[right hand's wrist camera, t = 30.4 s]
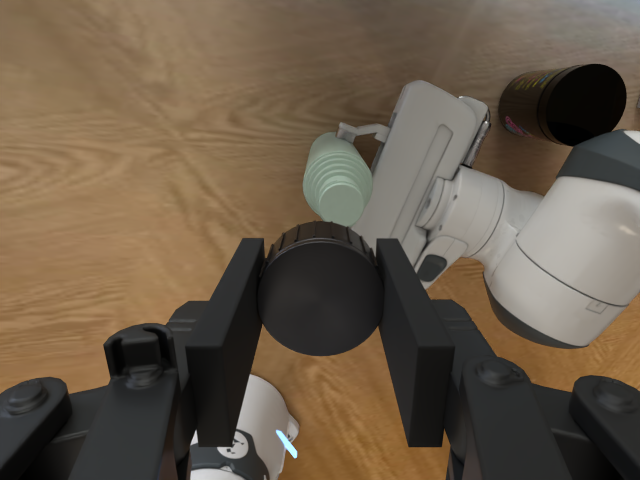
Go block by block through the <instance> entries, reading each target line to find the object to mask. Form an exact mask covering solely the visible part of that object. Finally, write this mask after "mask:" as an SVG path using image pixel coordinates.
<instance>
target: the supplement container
mask: <svg viewBox="0 0 640 480" xmlns="http://www.w3.org/2000/svg"><path fill="white" fill-rule="evenodd" d="M626 98H627V96H626V88H625V84H624V82H623V80H622V78H621V76H620V75H619V74H618V73H617V72H616V71H615V70H614V69H612V68H610V67H608V66H605V65H601V64H588V65H577V66H572V67H566V68H558V69H549V70H541V71H533V72H527V73H524V74H522V75H520V76H518V77H516V78H515V79H514V80H513V81H511V82H510V83H509V84H508V86H507V87H506V88H505V90H504V92H503V93H502V96H501V98H500V102H499V116H500V120H501V122H502V124H503V125H504V127H505V128H506V129H507V130H508V131H509V132H511V133H513V134H515V135H518V136H523V137H528V138H534V139H539V140H544V141H549V142H554V143H556V144H560V145H567V146H573V147H574V146H576V145H578V144H580V143H582V142H584V141H587V140H589V139H592V138H594V137H597V136H599V135H602V134H605V133H609V132H611V131H612V130H613V129H614V128H615V127H616V125H617V124H618V122H619V121H620V119H621V117H622V115H623V112H624V109H625V105H626Z"/></svg>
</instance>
